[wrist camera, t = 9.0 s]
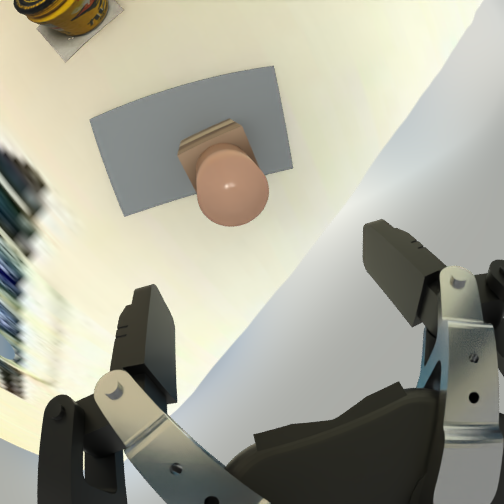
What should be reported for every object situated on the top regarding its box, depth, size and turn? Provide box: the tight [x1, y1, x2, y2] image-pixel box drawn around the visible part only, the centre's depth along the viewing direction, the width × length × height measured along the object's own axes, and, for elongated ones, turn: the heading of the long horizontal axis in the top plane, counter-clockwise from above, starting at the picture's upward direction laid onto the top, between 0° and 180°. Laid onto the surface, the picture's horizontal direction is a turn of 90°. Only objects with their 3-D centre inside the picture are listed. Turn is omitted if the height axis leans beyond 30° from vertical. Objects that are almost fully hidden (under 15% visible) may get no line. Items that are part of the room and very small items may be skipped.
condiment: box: [14, 0, 124, 62], centre depth 13 cm, size 7×8×12 cm
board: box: [90, 66, 293, 217], centre depth 28 cm, size 12×20×1 cm, turn 102°
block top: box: [177, 122, 259, 193], centre depth 24 cm, size 6×6×4 cm
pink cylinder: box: [196, 143, 269, 226], centre depth 20 cm, size 4×4×6 cm
